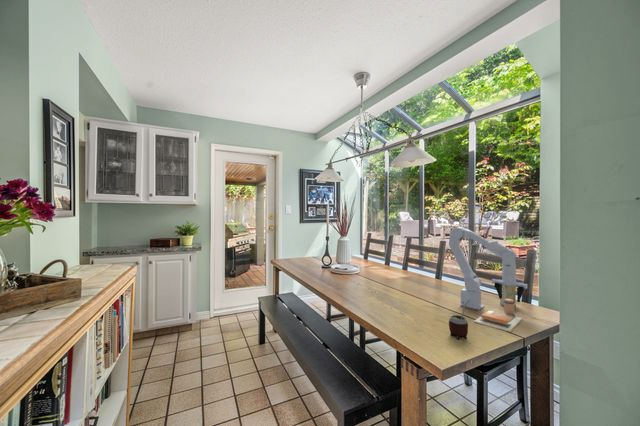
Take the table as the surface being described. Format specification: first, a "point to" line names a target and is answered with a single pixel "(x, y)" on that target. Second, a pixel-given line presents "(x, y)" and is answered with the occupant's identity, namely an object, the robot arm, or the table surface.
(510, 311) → the cylinder
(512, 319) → the picture board
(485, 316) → the button
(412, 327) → the table surface
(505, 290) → the skincare box
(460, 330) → the mate gourd
